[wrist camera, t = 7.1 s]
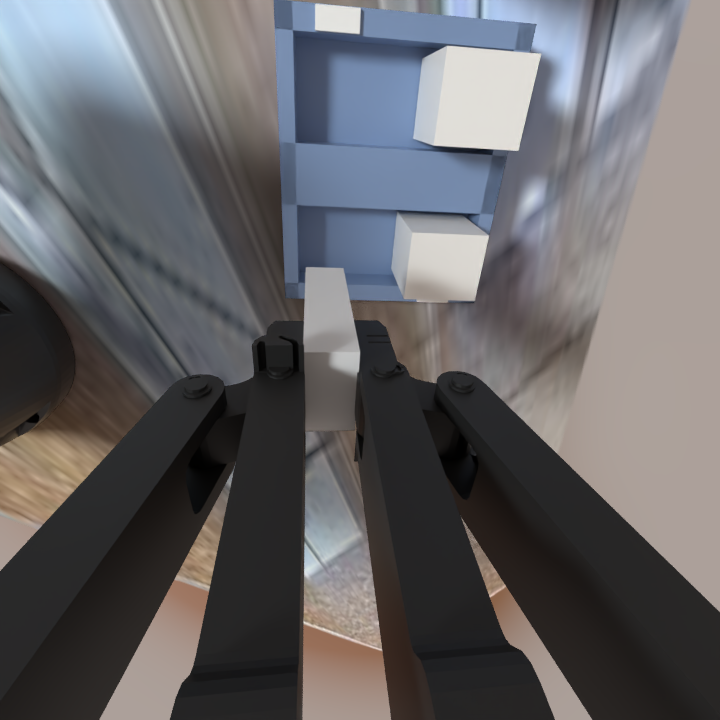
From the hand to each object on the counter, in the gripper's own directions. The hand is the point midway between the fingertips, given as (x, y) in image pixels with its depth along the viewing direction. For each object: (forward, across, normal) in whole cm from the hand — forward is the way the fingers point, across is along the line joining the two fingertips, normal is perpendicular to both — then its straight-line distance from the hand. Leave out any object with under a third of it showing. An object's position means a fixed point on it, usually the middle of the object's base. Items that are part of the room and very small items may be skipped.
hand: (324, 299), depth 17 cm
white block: (+10, +7, 0) cm, 12 cm away
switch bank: (+11, +4, +4) cm, 12 cm away
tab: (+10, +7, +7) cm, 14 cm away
